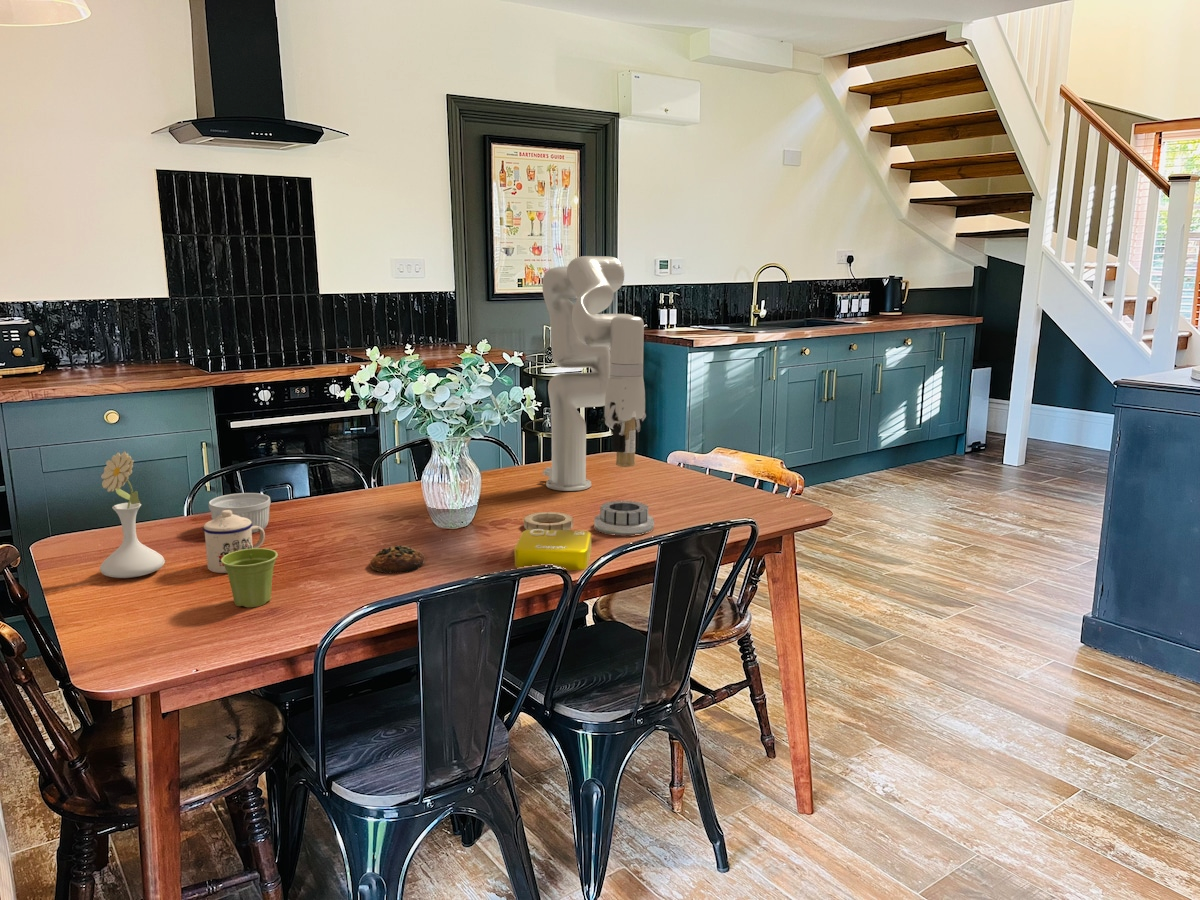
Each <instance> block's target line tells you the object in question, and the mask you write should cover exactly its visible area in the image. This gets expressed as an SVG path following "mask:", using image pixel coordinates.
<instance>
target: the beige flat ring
mask: <svg viewBox="0 0 1200 900" xmlns="http://www.w3.org/2000/svg"><path fill="white" fill-rule="evenodd" d="M573 527H574V518H573V516H571V515H570V514H568V513H563V512H558V511H541V512H535V513H530V514H527V515H526V516H525V517H524V518H523V528H524V529H525V530H530V529H531V530H533V529H543V530H572V528H573Z"/></svg>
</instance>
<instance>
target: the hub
mask: <svg viewBox="0 0 1200 900" xmlns="http://www.w3.org/2000/svg"><path fill="white" fill-rule="evenodd" d="M593 525H594V526H593V527H595V528H594V529H596V530H595V531H597V532H598V531H599V532H598V533H600V532H603V533H606V534H605V535H607V534H615V535H635V534H642V533H646V532H649V531H651V530H652V529H653V528H654V529H655V518H654V517H653V516H652V515H649V506H648V505H646V504H645V503H642V502H638V501H631V500H615V501H608V502H605V503H602V504H601V506H600V513H599V514H598V515H596V516H595V517H594V524H593ZM654 529H653V530H654ZM603 533H602V534H603Z"/></svg>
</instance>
